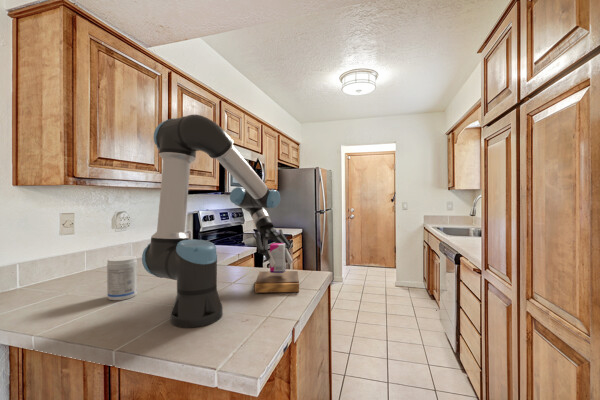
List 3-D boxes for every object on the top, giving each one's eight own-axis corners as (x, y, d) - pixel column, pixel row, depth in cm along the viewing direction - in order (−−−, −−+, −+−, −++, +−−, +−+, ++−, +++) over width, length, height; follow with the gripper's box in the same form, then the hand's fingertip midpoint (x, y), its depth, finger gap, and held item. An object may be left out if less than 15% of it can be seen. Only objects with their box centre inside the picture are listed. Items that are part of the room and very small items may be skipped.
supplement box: (285, 269, 122) (285, 242, 122) (283, 273, 116) (283, 245, 116) (272, 269, 122) (272, 242, 122) (269, 272, 116) (269, 245, 116)
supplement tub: (115, 293, 110) (114, 255, 110) (141, 291, 112) (141, 254, 112) (102, 302, 101) (101, 261, 101) (130, 300, 102) (130, 260, 102)
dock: (255, 293, 109) (255, 283, 109) (259, 280, 127) (259, 271, 127) (299, 293, 110) (299, 282, 110) (297, 279, 127) (297, 271, 127)
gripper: (279, 226, 137) (298, 265, 125) (239, 229, 125) (256, 273, 112) (285, 215, 133) (306, 255, 120) (244, 217, 121) (263, 262, 108)
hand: (282, 263), depth 116 cm, fingers closed on supplement box, 8 cm apart
